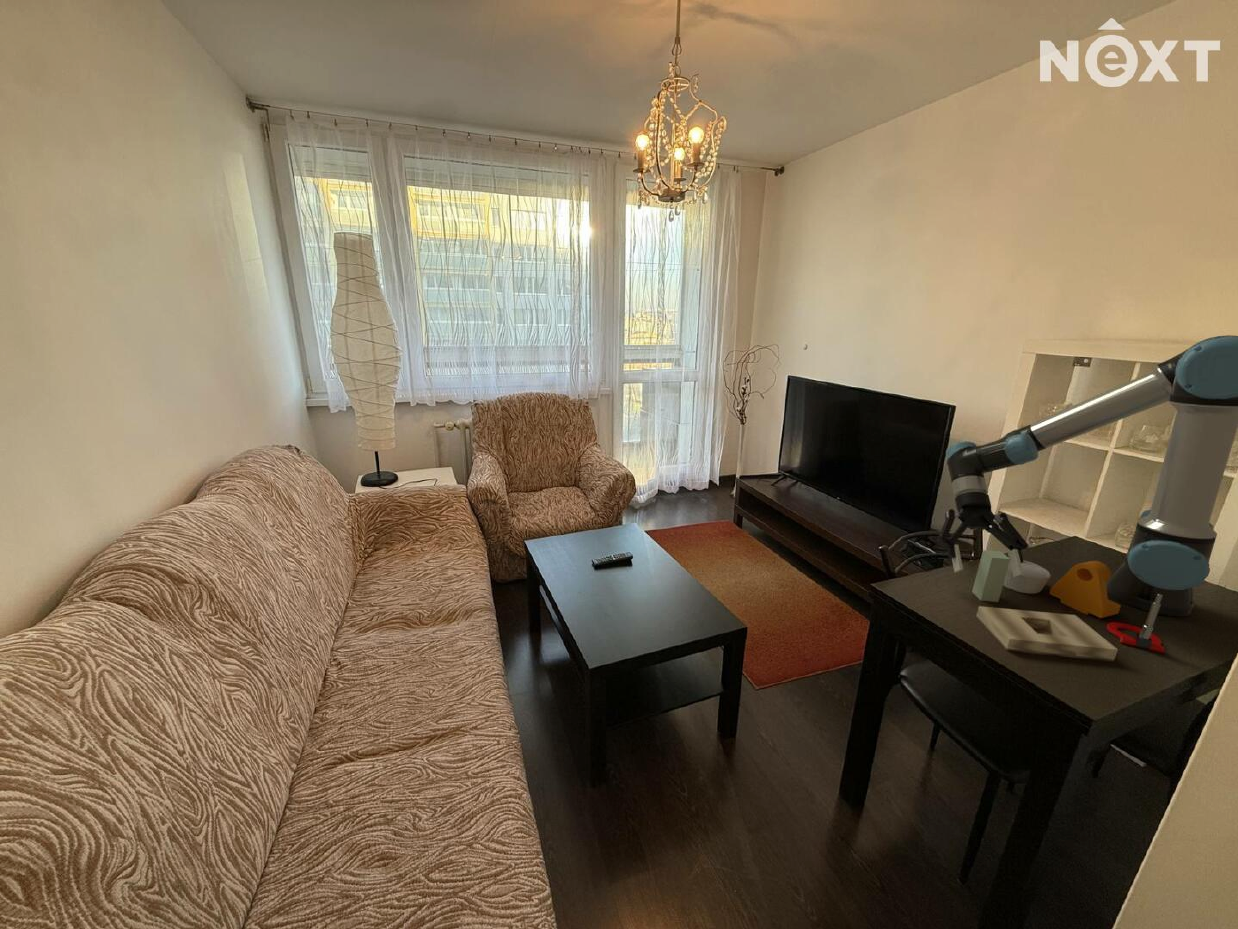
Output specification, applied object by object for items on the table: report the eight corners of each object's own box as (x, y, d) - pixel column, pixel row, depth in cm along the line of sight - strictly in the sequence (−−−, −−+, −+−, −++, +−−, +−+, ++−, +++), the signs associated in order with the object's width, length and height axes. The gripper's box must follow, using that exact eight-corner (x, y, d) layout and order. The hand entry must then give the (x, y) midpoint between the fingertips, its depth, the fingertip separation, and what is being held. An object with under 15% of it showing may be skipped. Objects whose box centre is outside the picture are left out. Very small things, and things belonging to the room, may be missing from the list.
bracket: (1119, 615, 115) (1136, 571, 111) (1099, 621, 113) (1116, 576, 109) (1067, 592, 125) (1081, 550, 121) (1048, 596, 122) (1061, 554, 119)
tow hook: (1100, 622, 113) (1115, 643, 105) (1117, 572, 110) (1134, 590, 102) (1149, 633, 109) (1169, 656, 101) (1168, 582, 106) (1190, 602, 98)
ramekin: (1051, 588, 126) (1057, 570, 125) (1036, 601, 120) (1042, 583, 119) (1001, 570, 135) (1005, 553, 134) (984, 581, 129) (989, 564, 128)
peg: (989, 593, 124) (1000, 551, 120) (998, 602, 120) (1010, 559, 116) (972, 591, 124) (983, 550, 121) (980, 600, 120) (992, 557, 117)
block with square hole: (1071, 626, 111) (1075, 615, 110) (1113, 661, 99) (1118, 649, 98) (975, 617, 114) (978, 606, 113) (1006, 650, 102) (1009, 638, 101)
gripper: (1014, 504, 131) (1034, 582, 121) (915, 498, 135) (927, 572, 125) (1031, 493, 124) (1054, 574, 115) (927, 487, 128) (941, 564, 119)
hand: (988, 573), depth 120 cm, fingers open, 13 cm apart
